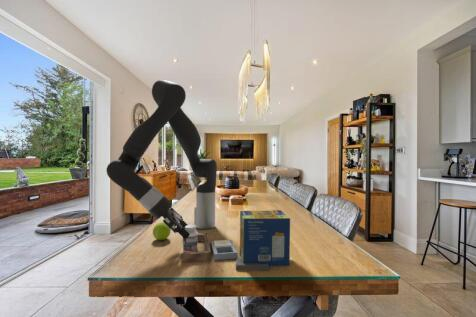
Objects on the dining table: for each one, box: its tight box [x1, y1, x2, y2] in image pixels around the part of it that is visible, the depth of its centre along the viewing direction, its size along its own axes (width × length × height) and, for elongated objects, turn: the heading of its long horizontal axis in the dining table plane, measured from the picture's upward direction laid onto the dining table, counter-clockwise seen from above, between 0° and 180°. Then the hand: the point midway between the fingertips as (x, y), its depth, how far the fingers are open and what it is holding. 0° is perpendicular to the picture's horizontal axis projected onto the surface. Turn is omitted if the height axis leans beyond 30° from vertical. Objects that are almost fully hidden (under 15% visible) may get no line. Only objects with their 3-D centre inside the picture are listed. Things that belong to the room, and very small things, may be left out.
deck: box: [210, 239, 239, 261], centre depth 84 cm, size 8×12×2 cm, turn 12°
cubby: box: [180, 233, 212, 263], centre depth 86 cm, size 10×19×3 cm, turn 12°
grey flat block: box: [235, 257, 270, 272], centre depth 73 cm, size 10×5×2 cm, turn 87°
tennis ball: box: [152, 221, 172, 241], centre depth 96 cm, size 7×7×7 cm
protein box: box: [239, 209, 291, 267], centre depth 79 cm, size 10×15×16 cm
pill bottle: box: [182, 224, 199, 253], centre depth 86 cm, size 5×5×9 cm
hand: (188, 232), depth 86 cm, fingers open, 8 cm apart
